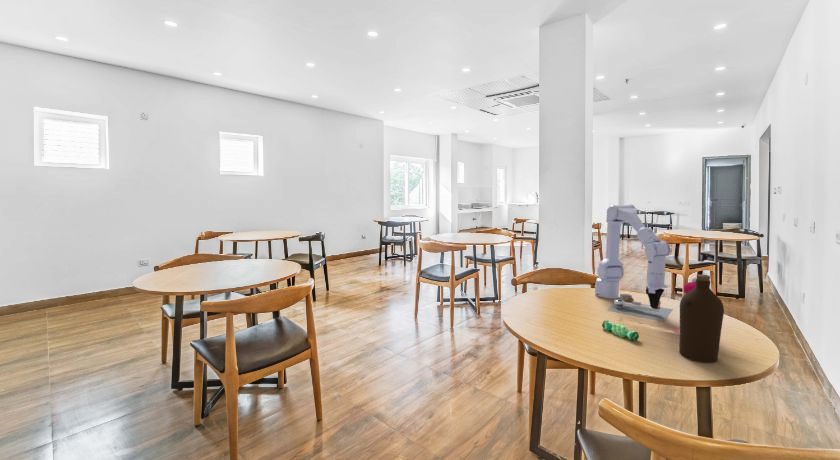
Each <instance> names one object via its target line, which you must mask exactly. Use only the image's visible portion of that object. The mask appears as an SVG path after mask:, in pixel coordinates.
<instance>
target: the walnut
mask: <svg viewBox="0 0 840 460" xmlns="http://www.w3.org/2000/svg"><path fill="white" fill-rule="evenodd" d="M633 301H635V299H634V298H633V296H632V297H626V298H625V302H628V303H632V302H633Z"/></svg>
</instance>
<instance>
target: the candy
mask: <svg viewBox="0 0 840 460" xmlns="http://www.w3.org/2000/svg"><path fill="white" fill-rule="evenodd" d="M601 327H602V329H603V330H605V331H611V333H612V334H613V335H615V336H618V337H620V338H625V337H627V338H628V340H630V341H631V342H633V340H634V341H638V339H639V337H640V335H639V333H638V331H635V330H629V329H628V327H627V326H625V325H622V324H619V323H614V324H612V322H611V321H609V320H603V322H602V323H601Z"/></svg>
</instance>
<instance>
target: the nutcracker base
mask: <svg viewBox="0 0 840 460" xmlns="http://www.w3.org/2000/svg"><path fill="white" fill-rule="evenodd" d="M626 297H632V298H633V295H632V294H630V293H619V299H622V300H624V301H625V298H626ZM641 305H645V306H650V304H645V303H641ZM673 310H674V309H673V308H668V307H663V306H662V307H661V306H660V309H659V312H654V311H649V310H643V309H638V308H632V307H626V306H617V305H614V304H613V305H611V306H610V307H608V308H607V309H606V311H607V312H612V313H613V312H614V313H618V314H623V315H629V316H633V317H637V318H638V317H639V318H643V319H644V318H645V319H649V320H655V321H660V322H665V321H666V319H667V318H668V317H669V316H670V314H671V313H672V311H673Z"/></svg>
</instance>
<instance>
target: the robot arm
mask: <svg viewBox="0 0 840 460" xmlns="http://www.w3.org/2000/svg"><path fill="white" fill-rule="evenodd" d="M605 221H606V224H607V225H606V226H607V227H606V238H605V239H606V244H605V257H604V258H603V259H602V260H600V261H599V263H598V268H597V270H596V271H597V276H598V278H596V281H595V283H594V284H595V285H594V287H595V288H594V296H595V297H599V298H600V297H601V298H605V299H611V300H612V299H613V300H615V299H619V297H620V291H619V289H620V281H621V280H622V279H623V277H624V275H625V270H624V263H623V262H622V261H621V260H619V255H620V243H621V241H620V239H621V238H620V237H621V226H622V225H623V224H624V223H625V222H627V223H628V224H629V225H630V226H631V227H632V228H633V229H634V230H635V231H636V237H637V238H638V240H639V241H640V242H641V244H642V246H644V253H645V259H646V261H647V269H646V282H645V285H646V287H647V288H646V289H645V293H646V294H647V296H648V300H649V305H650V306H651V307H652V308H657V307H658V305H659V301H661V297H662V295H663V293H664V292H665V289H667V288H669V285H668V284H665V277H666V276H665V275H666V263H667V262H666V260H667V256H669V255H670V252H671V246H670V245H669V243H668V241H666V240H663V239H660V238H659V236H657V234H656V233H655V232H654V231H653V230H654V229H652V228H651V227H648V226H645V224H644V223H643V222H642V220H641V219H640V217H639V215H638V209H637V208H636V206H635V205H634V204H615V205H614V204H611V205H610V206H608V208H607V209H606V220H605Z"/></svg>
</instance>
